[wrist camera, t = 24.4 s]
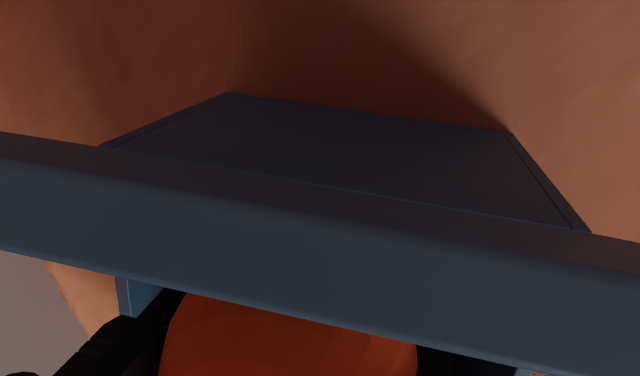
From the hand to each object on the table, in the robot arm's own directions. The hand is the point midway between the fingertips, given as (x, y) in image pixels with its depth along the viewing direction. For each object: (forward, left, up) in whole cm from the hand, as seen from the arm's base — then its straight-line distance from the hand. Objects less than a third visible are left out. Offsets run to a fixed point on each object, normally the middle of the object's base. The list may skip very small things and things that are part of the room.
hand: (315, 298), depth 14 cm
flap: (-7, 0, +6) cm, 9 cm away
